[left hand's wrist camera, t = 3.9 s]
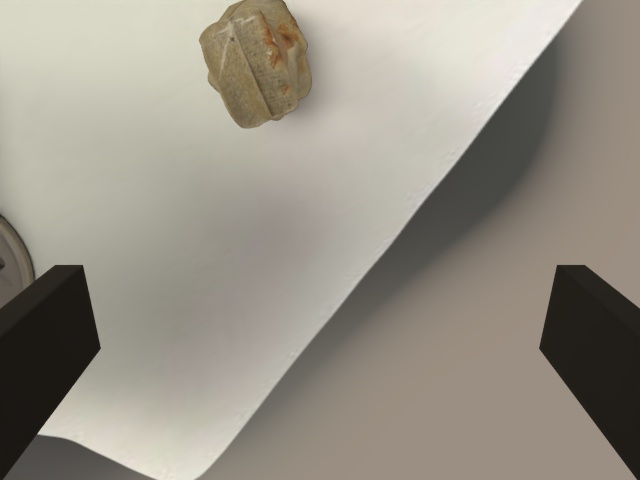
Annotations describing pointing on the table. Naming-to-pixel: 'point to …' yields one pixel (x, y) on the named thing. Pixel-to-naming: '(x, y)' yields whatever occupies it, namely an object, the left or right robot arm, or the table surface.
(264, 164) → the table surface
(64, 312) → the left robot arm
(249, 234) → the table surface
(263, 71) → the sculpture
